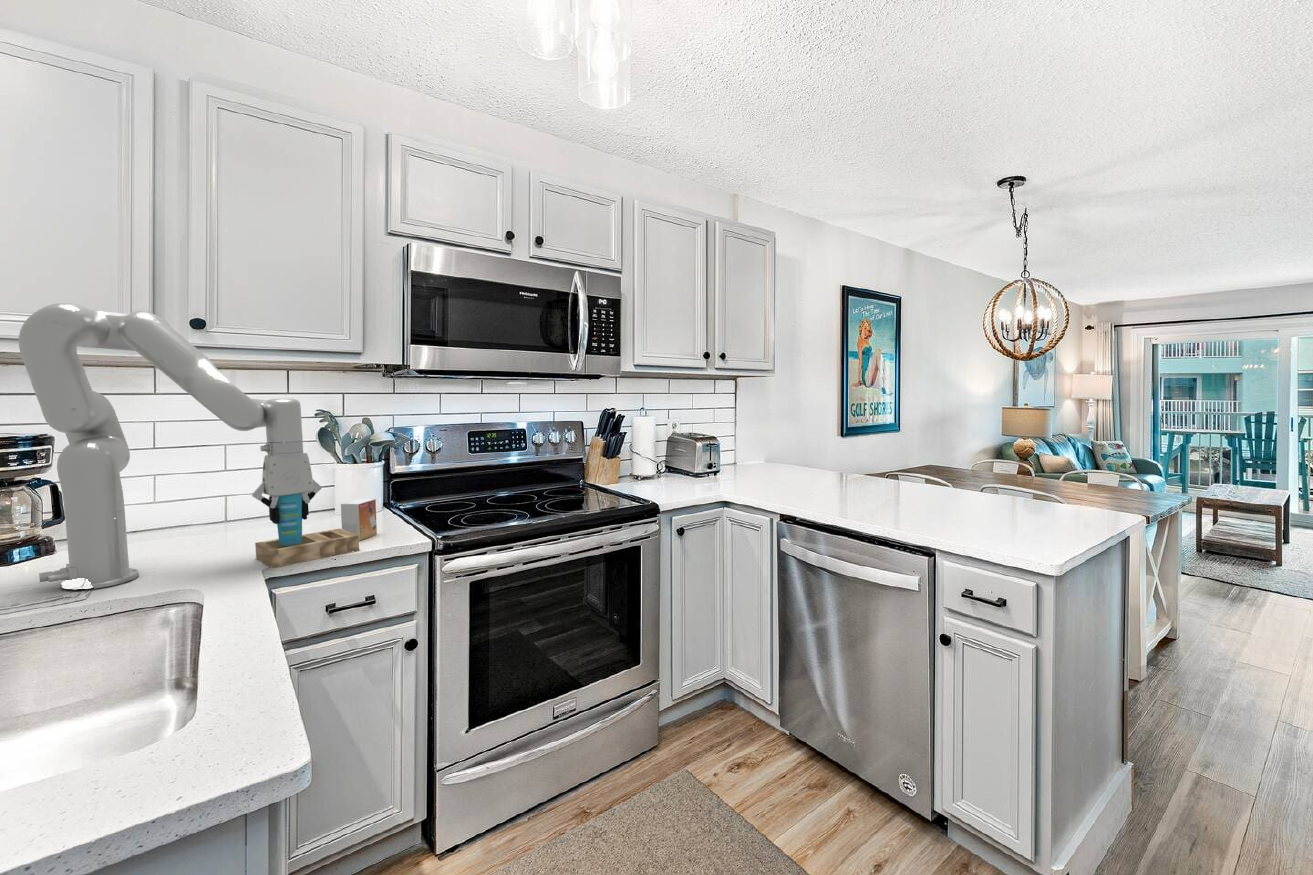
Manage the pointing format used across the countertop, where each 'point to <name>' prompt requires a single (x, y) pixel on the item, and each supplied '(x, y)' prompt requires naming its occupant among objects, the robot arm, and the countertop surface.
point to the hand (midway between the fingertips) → (289, 520)
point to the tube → (290, 519)
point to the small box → (359, 517)
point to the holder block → (307, 548)
